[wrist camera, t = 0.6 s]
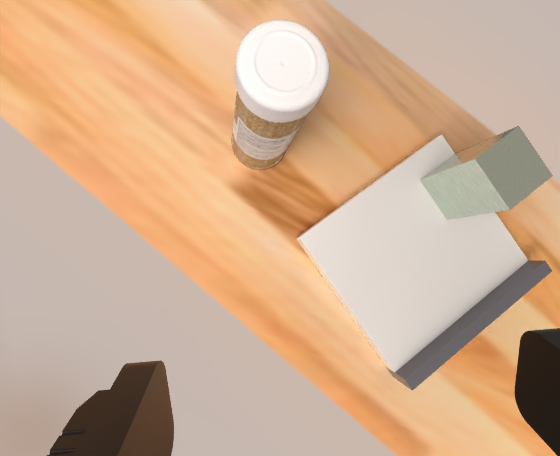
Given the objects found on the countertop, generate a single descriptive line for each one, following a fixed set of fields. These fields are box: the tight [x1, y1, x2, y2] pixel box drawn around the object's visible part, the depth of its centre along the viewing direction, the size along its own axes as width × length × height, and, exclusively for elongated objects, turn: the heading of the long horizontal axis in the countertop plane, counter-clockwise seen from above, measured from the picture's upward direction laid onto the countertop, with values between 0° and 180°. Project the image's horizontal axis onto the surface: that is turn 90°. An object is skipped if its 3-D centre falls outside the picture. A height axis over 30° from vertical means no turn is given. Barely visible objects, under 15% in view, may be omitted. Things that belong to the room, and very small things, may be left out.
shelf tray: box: [296, 134, 552, 390], centre depth 31 cm, size 14×15×3 cm
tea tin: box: [420, 126, 552, 220], centre depth 28 cm, size 4×4×7 cm
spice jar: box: [231, 20, 329, 170], centre depth 25 cm, size 5×5×14 cm
